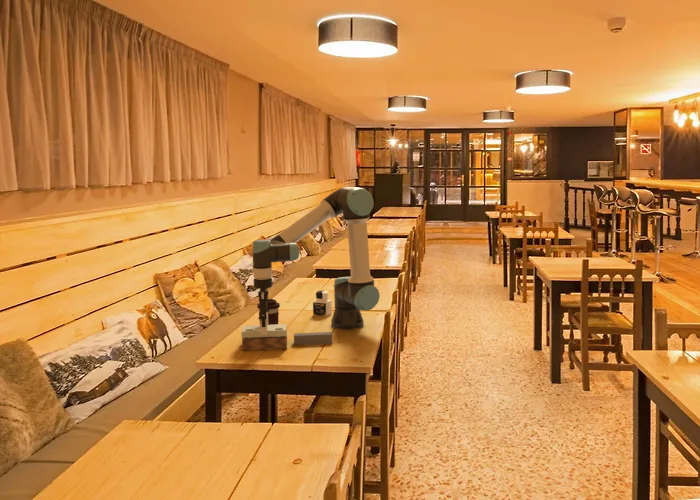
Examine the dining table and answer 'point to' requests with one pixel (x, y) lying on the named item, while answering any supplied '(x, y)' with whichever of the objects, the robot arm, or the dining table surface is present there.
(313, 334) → the block
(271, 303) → the coffee cup
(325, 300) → the medicine bottle
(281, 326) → the door
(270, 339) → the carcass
